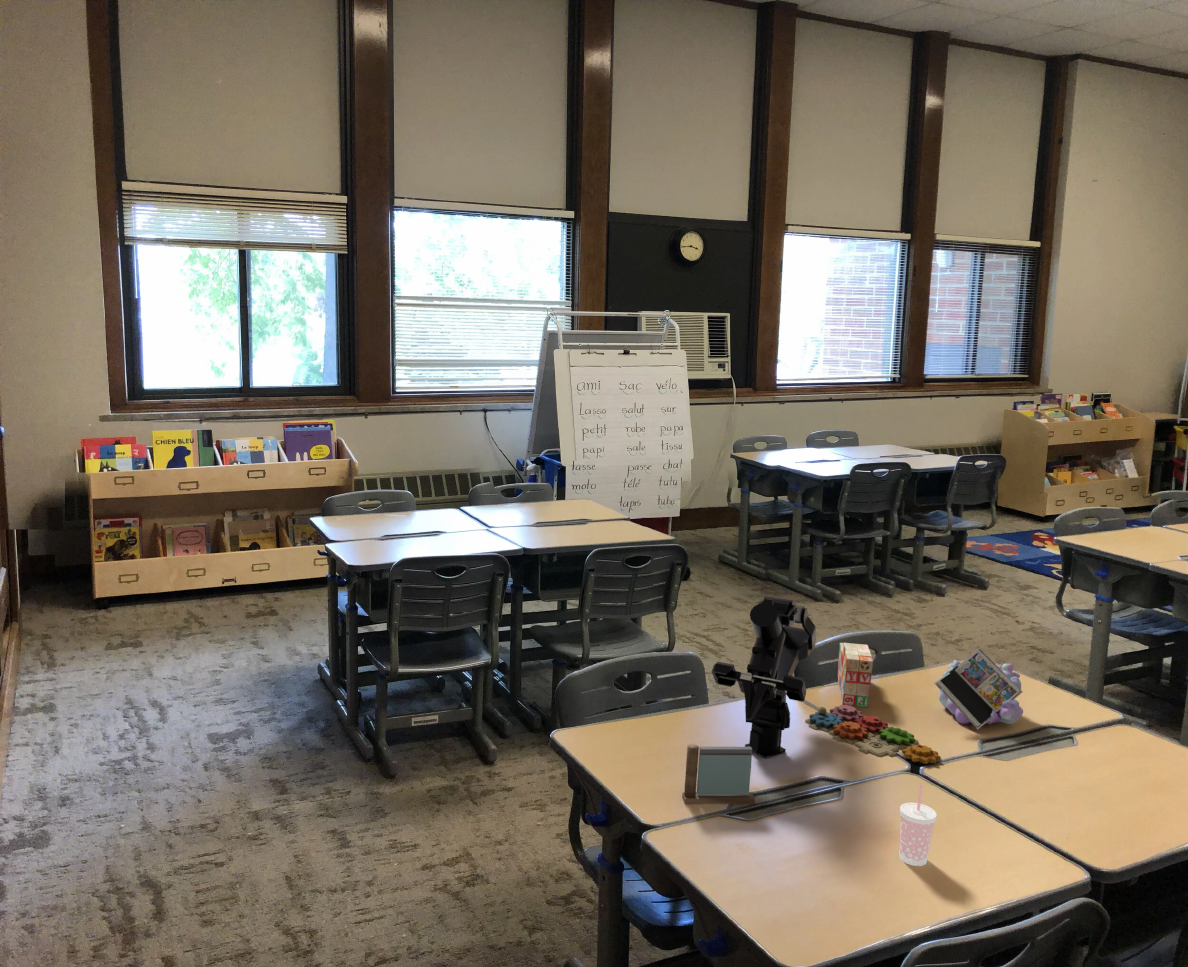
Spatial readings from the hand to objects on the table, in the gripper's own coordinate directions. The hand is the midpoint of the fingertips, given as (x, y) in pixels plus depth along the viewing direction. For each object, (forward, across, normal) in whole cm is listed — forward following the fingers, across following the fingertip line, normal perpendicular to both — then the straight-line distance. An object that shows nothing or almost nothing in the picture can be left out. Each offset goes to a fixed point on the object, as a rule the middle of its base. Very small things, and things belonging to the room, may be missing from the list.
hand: (748, 719), depth 195 cm
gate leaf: (+16, +1, -1) cm, 16 cm away
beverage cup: (+19, -34, 0) cm, 39 cm away
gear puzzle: (-15, -20, -34) cm, 43 cm away
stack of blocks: (-35, -10, -54) cm, 65 cm away
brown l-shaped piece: (+17, +2, -2) cm, 17 cm away
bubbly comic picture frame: (-34, -41, -53) cm, 75 cm away
